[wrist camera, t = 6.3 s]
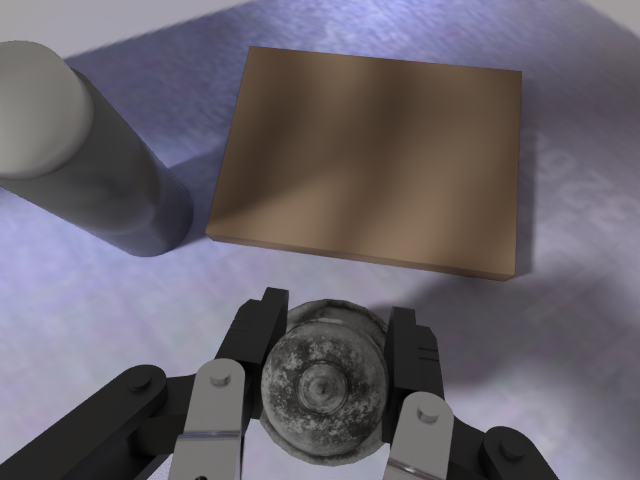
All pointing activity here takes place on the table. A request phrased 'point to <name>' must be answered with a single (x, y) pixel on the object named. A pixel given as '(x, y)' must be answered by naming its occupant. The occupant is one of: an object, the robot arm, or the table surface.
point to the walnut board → (373, 162)
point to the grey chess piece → (327, 383)
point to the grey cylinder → (83, 156)
